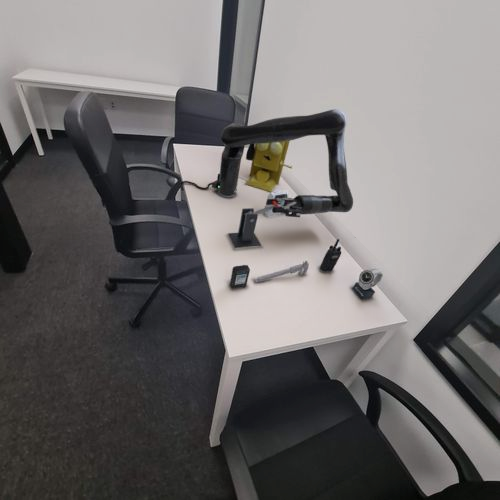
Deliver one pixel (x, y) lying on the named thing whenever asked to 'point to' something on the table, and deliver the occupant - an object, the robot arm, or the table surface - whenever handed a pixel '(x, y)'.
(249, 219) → the stand
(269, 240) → the table surface
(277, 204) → the lever
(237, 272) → the ink cartridge
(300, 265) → the caliper
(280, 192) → the photo printer
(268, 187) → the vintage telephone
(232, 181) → the robot arm
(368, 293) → the watch
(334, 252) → the two-way radio
